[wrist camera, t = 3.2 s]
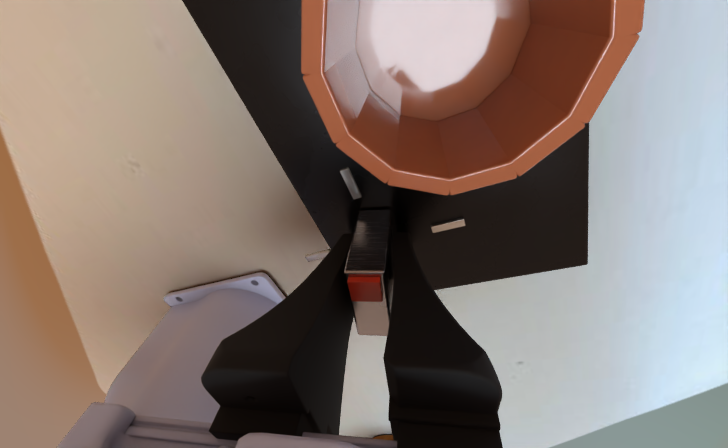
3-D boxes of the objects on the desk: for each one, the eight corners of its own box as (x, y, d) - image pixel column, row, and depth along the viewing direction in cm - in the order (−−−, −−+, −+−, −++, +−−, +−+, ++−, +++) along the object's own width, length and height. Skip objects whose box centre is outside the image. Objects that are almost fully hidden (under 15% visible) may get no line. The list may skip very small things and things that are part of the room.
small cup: (382, 148, 11) (367, 218, 7) (312, -32, 8) (237, -57, 5) (547, 92, 9) (632, 148, 6) (531, -161, 6) (680, -362, 3)
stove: (347, 275, 19) (339, 308, 17) (189, 10, 12) (140, 12, 9) (565, 230, 15) (590, 267, 13) (546, -217, 8) (599, -302, 5)
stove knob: (396, 268, 15) (392, 342, 12) (368, 268, 15) (356, 341, 12) (390, 208, 13) (384, 277, 10) (358, 209, 13) (341, 277, 10)
